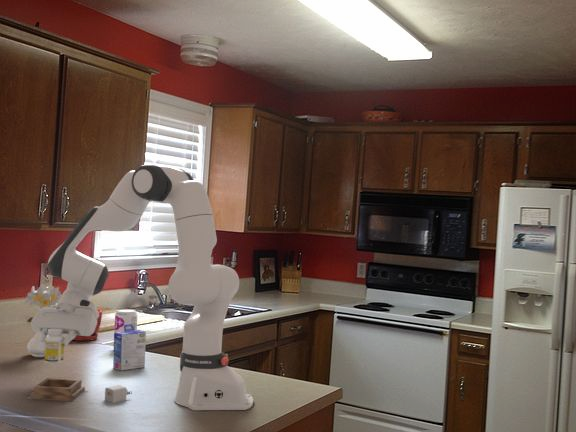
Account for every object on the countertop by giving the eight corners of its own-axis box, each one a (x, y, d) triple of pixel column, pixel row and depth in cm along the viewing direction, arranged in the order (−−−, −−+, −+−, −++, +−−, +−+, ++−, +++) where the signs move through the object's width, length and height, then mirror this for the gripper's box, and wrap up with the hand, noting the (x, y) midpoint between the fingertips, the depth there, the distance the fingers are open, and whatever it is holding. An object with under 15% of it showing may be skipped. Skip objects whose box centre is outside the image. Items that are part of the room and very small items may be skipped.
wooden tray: (84, 391, 200) (85, 380, 200) (73, 400, 190) (74, 388, 190) (43, 388, 200) (44, 377, 200) (30, 398, 190) (30, 386, 190)
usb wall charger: (104, 401, 192) (105, 387, 192) (125, 397, 198) (125, 383, 198) (113, 404, 190) (113, 390, 190) (133, 400, 195) (134, 386, 195)
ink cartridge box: (136, 364, 239) (138, 322, 239) (145, 367, 235) (147, 325, 235) (111, 368, 231) (113, 325, 231) (120, 371, 228) (122, 327, 228)
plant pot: (95, 342, 272) (96, 312, 272) (62, 341, 272) (63, 310, 272) (104, 336, 285) (106, 308, 285) (73, 335, 285) (74, 306, 285)
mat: (88, 392, 201) (88, 390, 201) (76, 402, 190) (76, 401, 190) (40, 389, 201) (40, 388, 201) (25, 399, 190) (26, 398, 190)
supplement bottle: (56, 359, 211) (58, 327, 211) (66, 362, 207) (68, 329, 207) (40, 361, 207) (42, 329, 207) (50, 364, 203) (52, 331, 203)
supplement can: (119, 353, 255) (121, 312, 255) (109, 349, 261) (111, 309, 261) (139, 351, 260) (141, 311, 260) (129, 347, 267) (130, 308, 266)
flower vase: (30, 362, 233) (33, 289, 233) (16, 352, 248) (20, 283, 248) (68, 359, 240) (72, 288, 240) (53, 349, 255) (56, 282, 255)
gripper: (38, 299, 216) (18, 335, 206) (97, 303, 212) (80, 340, 202) (45, 311, 220) (26, 347, 211) (104, 315, 216) (87, 352, 206)
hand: (53, 343), depth 206 cm, fingers closed on supplement bottle, 5 cm apart
